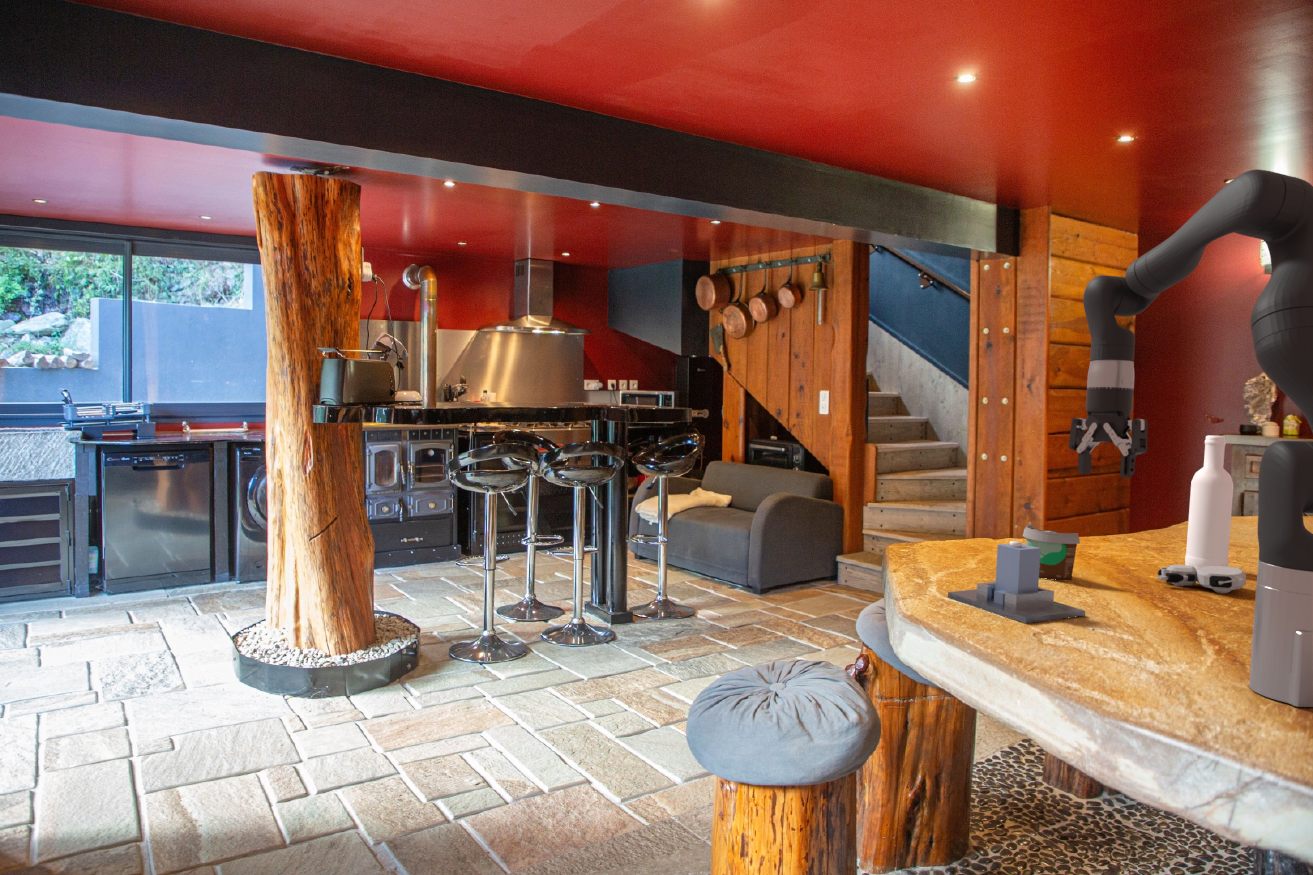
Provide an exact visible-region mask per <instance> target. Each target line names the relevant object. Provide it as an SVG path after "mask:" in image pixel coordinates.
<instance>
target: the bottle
mask: <svg viewBox="0 0 1313 875" xmlns="http://www.w3.org/2000/svg"><path fill="white" fill-rule="evenodd" d="M1226 445H1227V441H1226V437H1225V435H1206V436H1205V440H1204V457H1203V458H1204V460H1203V466H1202V467H1201V468H1200V469H1198V470H1197V471H1196V472H1195V473H1194V475H1193V477H1192V479H1191V484H1190V493H1189V494H1190V496H1189V507H1188V509H1189V510H1188V511H1189V512H1188V520H1187V521H1188V522H1187V537H1186V538H1187V539H1186V550H1185V551H1186V552H1185V557H1184V563H1185V564H1184V565H1189V566H1193V567H1194V568H1196V570H1198V569H1199V568H1200V567H1203V566H1225V567H1229V554H1230V553H1229V552H1230V538H1231V524H1232V523H1231V522H1232V510H1233V496H1234V495H1233V494H1234V487H1235V486H1234V482H1233V478H1232V476H1231V474H1230V473H1229V472H1228V471H1227V470H1226V469H1225V468H1224V465H1225V464H1224V462H1225V461H1224V460H1225V449H1226Z"/></svg>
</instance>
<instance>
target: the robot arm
mask: <svg viewBox="0 0 1313 875" xmlns="http://www.w3.org/2000/svg"><path fill="white" fill-rule="evenodd" d="M1233 233H1234V234H1237V235H1241V236H1244V237H1248V238H1249V237H1250V238H1254V239H1258V240H1262V241H1264V242H1265V243H1266V246H1267V248H1268V252H1269V253H1268V254H1269V256H1270V264H1271V275H1270V278H1269V280H1268V282H1267V284H1266V285H1265V287H1264V288H1263V290H1262V291H1261V293H1260V295H1259V296H1258V298H1257V299H1256V302H1255V304H1254V306H1253V309H1252V312H1251V315H1250V329H1251V334H1252V335H1251V336H1252V342H1253V349H1254V353H1255V358H1256V361H1257V364H1258V365H1259V367H1260V368H1261V370H1262V371H1263V372H1264V373H1265V375H1266V376H1267V377H1268V378H1269V379H1270V381H1271V382H1272V383H1274V385H1275V386H1276V387H1277V388H1278V389H1279V390H1280V391H1282V393H1284V395H1286V397H1288V398H1289V400H1290V401H1292V402H1293V404H1294V405H1295V406H1296V407H1297V408H1298V409H1299V410H1300V411H1301V413H1302V414H1303V415H1304V417H1305V419H1306V421H1307V422H1308V425H1309V427H1310V430H1311V432H1312V434H1313V185H1312V184H1311V183H1309V182H1308V181H1306V180H1305V179H1302V178H1299V177H1296V176H1291V175H1288V174H1287V175H1286V174H1283V173H1278V172H1275V171H1271V170H1266V169H1258V168H1257V169H1251V170H1247V171H1245V172H1243V173H1241V174H1239V175H1238V176H1236V177H1235V178H1234V179H1232V180H1231V181H1229V182H1228V183H1227V184H1226V185H1224V186H1223V187H1222V188H1221V189H1220V190H1219V191H1218V192H1216V194H1214V195H1213V196H1212V197H1211V198H1210V199H1209V200H1208V201H1207V202H1206V203H1205V204H1203V205H1202V207H1200V208H1199V210H1197V211H1196V212H1195V213H1194V214H1193V215H1192V216H1191V217H1190V218H1189V219H1188V220H1187V221H1186V222H1185V223H1184V224H1183V225H1182V226H1180V227H1179V229H1177V230H1176V231H1175V232H1174V233H1173V234H1172V235H1170V236H1169V237H1168V238H1166V239H1165V240H1164V241H1162V242H1160V243H1159V244H1158V245H1157V246H1155V247H1153V248H1151V249H1150V250H1148V251H1147V252H1145V253H1143V255H1141V256H1140V257H1138V258H1137V259H1135V260H1134V261H1133V262H1132V263H1131V264H1129V266H1128V267H1127V269H1126V272H1125V276H1117V275H1116V276H1115V275H1106V274H1105V275H1104V274H1102V275H1100V274H1099V275H1097V276H1095V277H1093V278H1092V279H1090V281H1089V282H1088V283H1087V284H1086V287H1085V289H1084V291H1083V299H1082V301H1083V303H1082V304H1083V309H1084V310H1083V311H1084V313H1085V318H1086V322H1087V325H1088V326H1087V327H1088V330H1089V331H1088V332H1089V334H1090V336H1089V337H1090V340H1091V341H1090V342H1091V343H1090V344H1091V345H1090V357H1089V360H1090V362H1089V367H1088V371H1087V379H1086V380H1087V383H1086V386H1087V387H1086V396H1085V397H1086V398H1085V399H1086V401H1085V411H1086V412H1087V417H1086V418H1081V417H1073V418H1071V425H1070V431H1069V432H1070V433H1069V440H1068V441H1069V442H1068V449H1069V450H1073V451H1075V452H1077V454H1078V458H1077V470H1078V473H1079V474H1080V475H1090V474H1091V472H1092V460H1093V459H1092V458H1093V454H1091V453H1092V452H1093V450H1094V449H1095V447H1096V446H1099V444H1100V443H1113V444H1114V445H1115V447H1117V448H1118V449H1119V451H1120V452H1121V454H1122V456H1120V478H1127V479H1128V478H1133V475H1134V474H1135V470H1136V469H1135V468H1136V458H1137V456H1138V455H1141V454H1147V452H1148V420H1146V419H1145V418H1144V419H1143V418H1134V419H1133V418H1132V419H1131V413H1132V412H1133V407H1134V393H1135V392H1134V391H1135V390H1134V389H1135V367H1134V366H1135V364H1134V363H1135V347H1136V336H1135V334H1134V332H1133V331H1132V330H1130V329H1128V328H1126V327H1122V326H1121V325H1119V323H1118V321H1117V319H1116V318H1117V317H1132V316H1136V315H1138V314H1141V313H1143V312H1144V311H1145V310H1146V309H1147V308H1148V307H1150V305H1151V304H1152V303H1153V302H1154V301H1155V300H1156V299H1157V298H1158V297H1159V296H1160V294H1161V293H1163V292H1164V291H1166V290H1168V289H1170V288H1171V287H1174V286H1175V285H1176V284H1178V283H1180V282H1181V281H1183V280H1184V279H1187V277H1189V276H1190V275H1192V273H1193V272H1194V270H1196V269H1197V267H1198V266H1199V264H1200V262H1201V260H1202V258H1203V254H1204V252H1205V249H1206V247H1207V246H1208V245H1209V244H1211V243H1212V242H1214V241H1215V240H1218V239H1220V238H1223V237H1224V236H1227V235H1229V234H1233ZM1086 429H1087V431H1086ZM1129 431H1131V435H1130V434H1129ZM1257 481H1258V482H1257V483H1258V484H1257V485H1258V491H1257V492H1258V494H1257V495H1258V498H1257V502H1258V503H1257V504H1258V507H1257V512H1258V513H1257V514H1258V515H1257V539H1258V540H1257V541H1258V560H1257V574H1256V587H1255V599H1254V600H1255V601H1254V610H1253V611H1254V612H1253V628H1252V639H1251V653H1250V654H1251V655H1250V667H1249V669H1250V670H1249V681H1248V682H1249V684H1248V686H1249V688H1250V689H1251V690H1252V691H1253V692H1255V693H1256V694H1259V695H1261V696H1263V697H1266V698H1269V699H1272V700H1275V701H1278V702H1283V703H1286V704H1290V705H1292V707H1293V706H1294V707H1297V708H1299V707H1300V708H1303V707H1304V708H1313V533H1312V532H1311V531H1310V530H1308V529H1307V528H1306V527H1305V523H1304V514H1313V441H1312V440H1311V441H1310V440H1309V441H1307V440H1305V441H1304V440H1279V441H1278V440H1277V441H1275V442H1272V443H1271V444H1269V445H1268V447H1266V449H1265V450H1264V452H1263V454H1262V456H1261V460H1260V463H1259V468H1258V480H1257Z"/></svg>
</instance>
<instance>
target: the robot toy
mask: <svg viewBox="0 0 1313 875" xmlns="http://www.w3.org/2000/svg"><path fill="white" fill-rule="evenodd" d="M1157 575H1158V576H1157V579H1158V580H1160V581H1163V582H1167V583H1168V584H1171V585H1173V586H1174V587H1183V586H1194V585H1195V584H1199V585H1200V586H1201V587H1204V588H1208V589H1212V590H1213V591H1214V592H1216V593H1217V594H1227V593H1230V592H1232V591H1233V590H1239V589H1241V588H1243V587H1245V585H1246V584H1247V574H1246V573H1245V572H1244V571H1243V570H1242V567H1233V566H1228V567H1225V566H1203V567H1200V568H1199V569H1198V570H1196V568H1194V567H1193V566H1189V565H1185V564H1171V565H1169V566H1163V567H1161V568H1159V570H1158V572H1157Z"/></svg>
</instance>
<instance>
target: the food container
mask: <svg viewBox="0 0 1313 875" xmlns="http://www.w3.org/2000/svg"><path fill="white" fill-rule="evenodd" d="M1022 537H1024V539H1025V545H1029V546H1033V547H1038V548H1041V549H1040V567H1039V579H1041V578H1047V579H1054V580H1053V581H1056V580H1071V581H1072V578H1073V572H1074V566H1075V558H1076V552H1077V546H1078V544H1079V545H1081V540H1080V536H1079V533H1075V532H1073V533H1070V532H1069V533H1065V532H1064V533H1063V532H1058V531H1057V530H1056V531H1055V530H1043V529H1037V528H1034V524H1027V525H1026V526H1025V528H1024V529H1023V533H1022ZM1047 579H1046V580H1047ZM1055 579H1056V580H1055Z"/></svg>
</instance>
